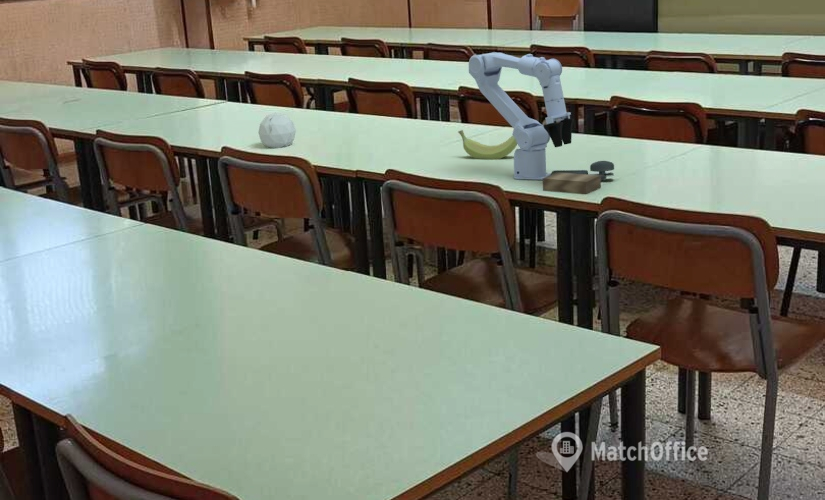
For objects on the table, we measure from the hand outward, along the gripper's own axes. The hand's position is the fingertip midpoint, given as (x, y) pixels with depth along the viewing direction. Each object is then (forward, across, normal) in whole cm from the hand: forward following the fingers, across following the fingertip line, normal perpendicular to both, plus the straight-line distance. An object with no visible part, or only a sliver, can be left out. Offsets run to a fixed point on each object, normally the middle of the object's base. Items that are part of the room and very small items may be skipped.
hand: (563, 145), depth 316 cm
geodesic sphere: (-17, +30, +125) cm, 130 cm away
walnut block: (+13, -8, -3) cm, 16 cm away
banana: (+1, +28, +29) cm, 40 cm away
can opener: (+12, +3, -2) cm, 13 cm away
